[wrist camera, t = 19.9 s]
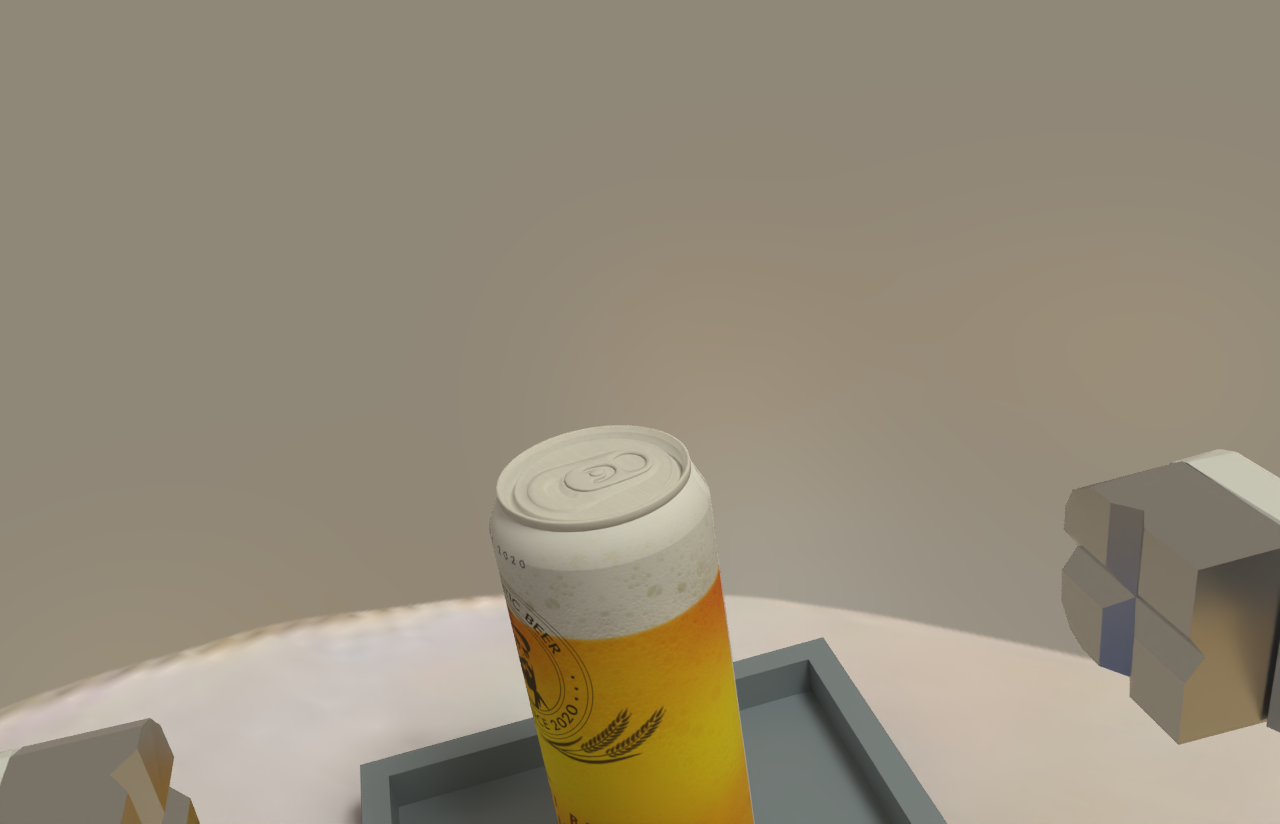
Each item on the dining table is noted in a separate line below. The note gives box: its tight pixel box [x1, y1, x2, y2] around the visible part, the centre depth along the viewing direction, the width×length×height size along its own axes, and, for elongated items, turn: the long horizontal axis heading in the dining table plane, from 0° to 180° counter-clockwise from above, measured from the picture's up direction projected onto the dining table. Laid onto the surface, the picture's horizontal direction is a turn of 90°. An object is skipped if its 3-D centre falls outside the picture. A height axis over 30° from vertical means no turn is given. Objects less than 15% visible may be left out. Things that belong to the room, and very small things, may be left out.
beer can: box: [489, 425, 755, 824], centre depth 34 cm, size 6×6×15 cm
